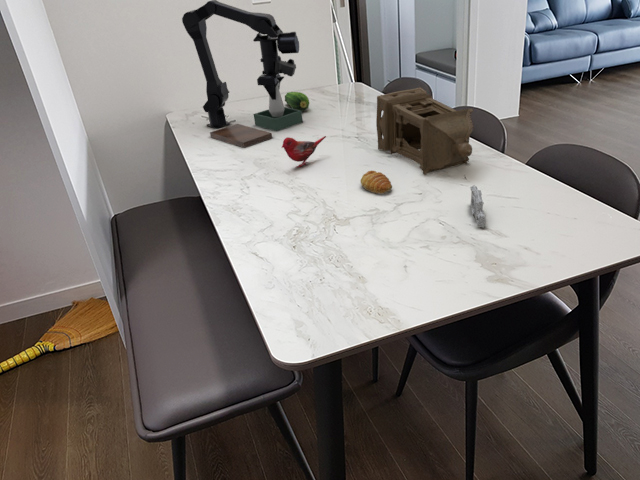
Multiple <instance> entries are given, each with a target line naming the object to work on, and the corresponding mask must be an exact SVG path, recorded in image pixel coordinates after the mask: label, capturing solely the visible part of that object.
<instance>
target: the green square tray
mask: <svg viewBox="0 0 640 480" xmlns="http://www.w3.org/2000/svg"><path fill="white" fill-rule="evenodd" d="M284 108H285V110H284V113H283V116H282V117H272V115H271V114H270V112H269V108H268V109H266V110H262V111H259V112H255V113H253V115H252V116H253V121H254V126H256V127H260V128H263V129H266V130H270V131H274V132H279V131H282V130H284V129H287V128H290V127H293V126H296V125H299V124H302V123H304V119H303V111H300V110H296V109H292V108H291V107H287V106H284Z"/></svg>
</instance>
